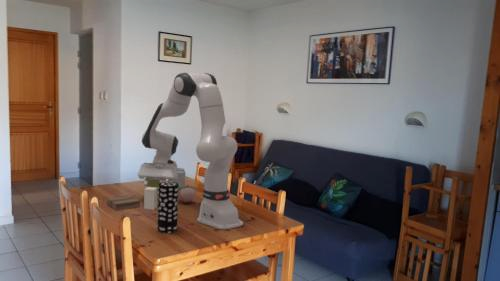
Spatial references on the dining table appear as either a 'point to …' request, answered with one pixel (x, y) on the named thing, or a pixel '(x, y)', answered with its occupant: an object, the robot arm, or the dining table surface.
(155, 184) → the plant pot
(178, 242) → the dining table surface
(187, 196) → the decorative fruit
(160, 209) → the spotted tube
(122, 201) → the base
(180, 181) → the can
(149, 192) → the block
